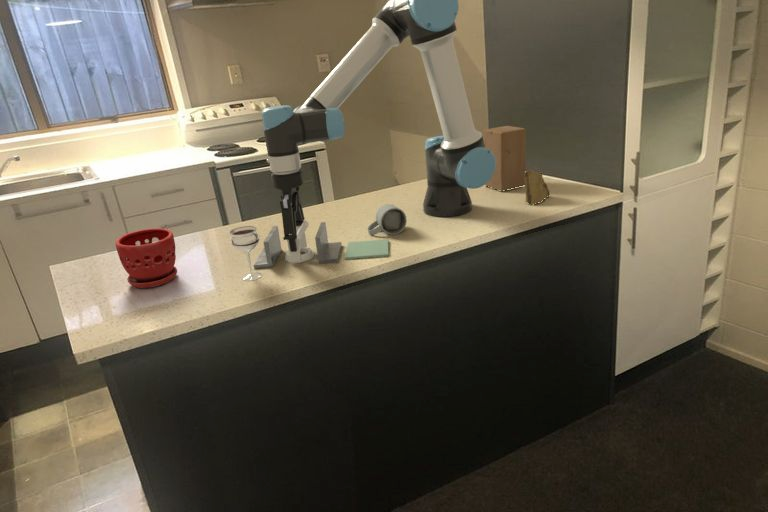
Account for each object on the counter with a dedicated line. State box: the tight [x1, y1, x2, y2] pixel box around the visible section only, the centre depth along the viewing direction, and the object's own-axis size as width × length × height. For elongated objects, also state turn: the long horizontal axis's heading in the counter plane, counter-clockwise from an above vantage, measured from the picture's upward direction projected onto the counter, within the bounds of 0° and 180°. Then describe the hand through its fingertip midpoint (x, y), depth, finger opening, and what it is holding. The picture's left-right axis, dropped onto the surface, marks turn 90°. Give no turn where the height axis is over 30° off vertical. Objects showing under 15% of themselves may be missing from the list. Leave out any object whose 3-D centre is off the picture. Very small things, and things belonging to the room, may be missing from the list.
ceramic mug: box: [366, 203, 408, 236], centre depth 152 cm, size 11×8×8 cm
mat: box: [344, 238, 389, 260], centre depth 141 cm, size 11×11×1 cm
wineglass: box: [228, 225, 263, 282], centre depth 129 cm, size 7×7×12 cm
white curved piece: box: [284, 220, 315, 263], centre depth 139 cm, size 8×12×7 cm
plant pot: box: [115, 228, 178, 289], centre depth 132 cm, size 13×13×12 cm
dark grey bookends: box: [253, 221, 343, 270], centre depth 140 cm, size 21×12×7 cm, turn 89°
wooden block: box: [483, 125, 527, 191], centre depth 183 cm, size 10×10×20 cm
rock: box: [524, 170, 551, 206], centre depth 167 cm, size 11×9×10 cm
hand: (299, 255), depth 141 cm, fingers open, 9 cm apart
